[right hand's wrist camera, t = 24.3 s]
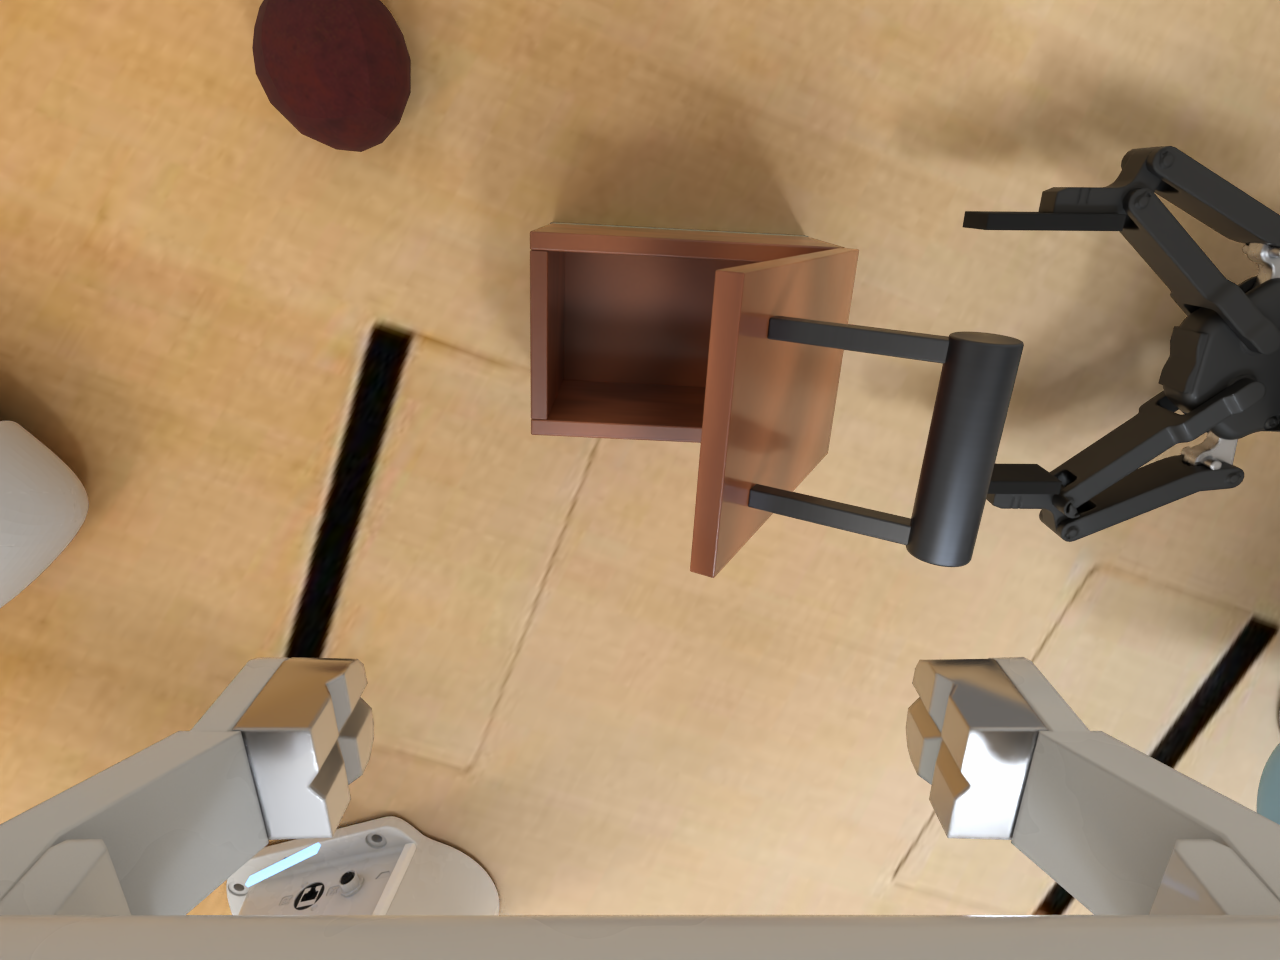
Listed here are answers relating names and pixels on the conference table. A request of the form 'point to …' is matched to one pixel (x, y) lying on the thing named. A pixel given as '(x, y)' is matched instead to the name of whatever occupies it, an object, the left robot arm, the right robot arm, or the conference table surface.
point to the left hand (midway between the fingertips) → (951, 357)
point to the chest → (630, 324)
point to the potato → (333, 68)
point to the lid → (804, 408)
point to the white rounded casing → (34, 508)
